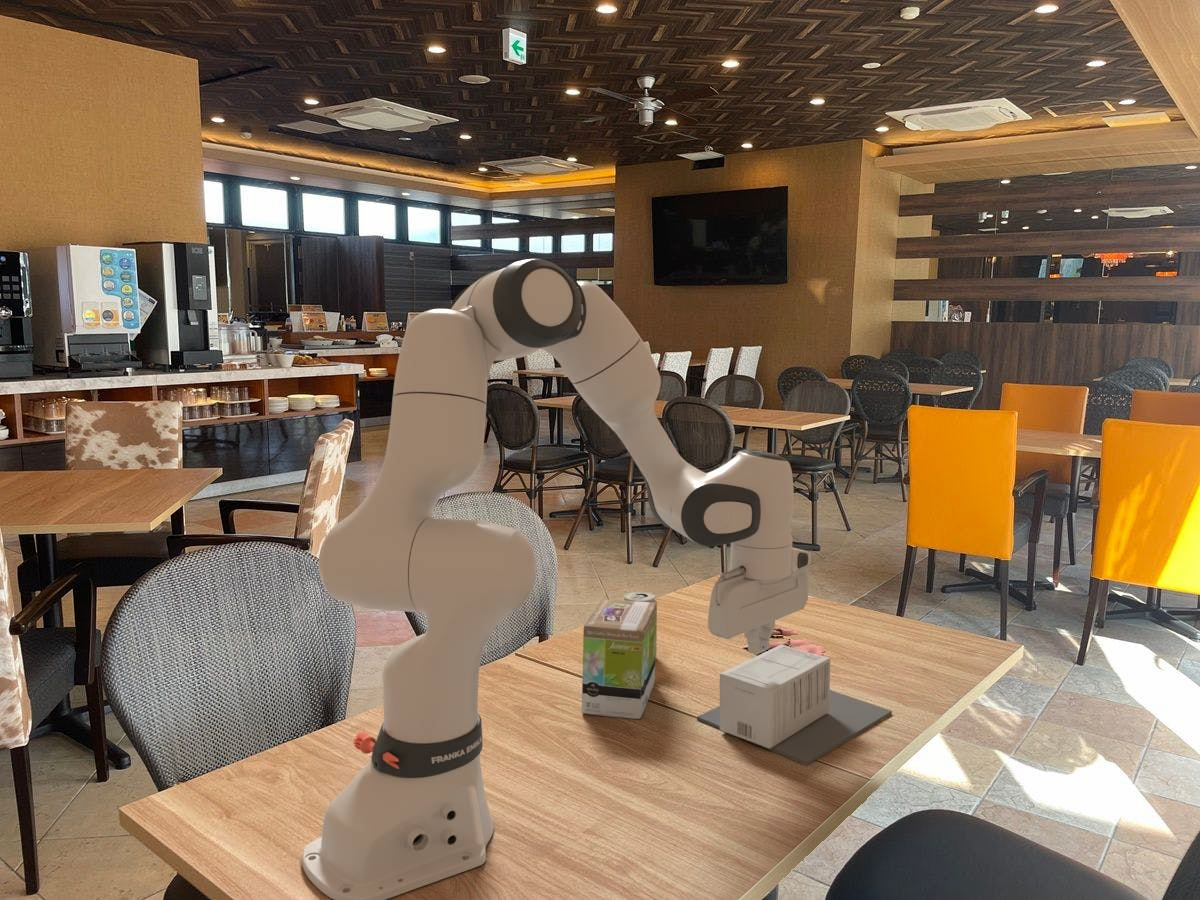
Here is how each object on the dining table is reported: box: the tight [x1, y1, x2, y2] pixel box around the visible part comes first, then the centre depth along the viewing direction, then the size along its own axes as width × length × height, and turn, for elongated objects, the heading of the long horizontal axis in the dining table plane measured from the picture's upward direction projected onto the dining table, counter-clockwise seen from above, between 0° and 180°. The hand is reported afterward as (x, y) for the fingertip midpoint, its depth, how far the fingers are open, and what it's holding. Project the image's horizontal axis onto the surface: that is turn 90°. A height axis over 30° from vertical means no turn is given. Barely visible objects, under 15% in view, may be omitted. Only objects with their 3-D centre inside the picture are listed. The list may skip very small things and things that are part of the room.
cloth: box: [743, 627, 825, 656], centre depth 174 cm, size 20×22×2 cm
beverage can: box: [623, 591, 658, 652], centre depth 164 cm, size 6×6×12 cm
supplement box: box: [719, 644, 831, 749], centre depth 137 cm, size 10×9×17 cm
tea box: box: [581, 598, 658, 720], centre depth 146 cm, size 15×10×15 cm
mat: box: [696, 689, 893, 766], centre depth 140 cm, size 24×20×1 cm
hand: (758, 651), depth 132 cm, fingers closed
